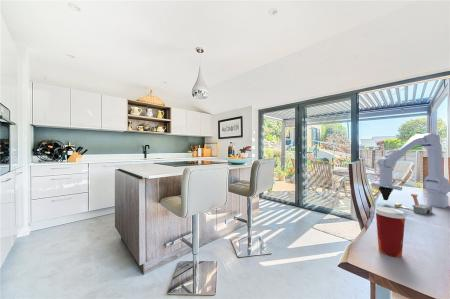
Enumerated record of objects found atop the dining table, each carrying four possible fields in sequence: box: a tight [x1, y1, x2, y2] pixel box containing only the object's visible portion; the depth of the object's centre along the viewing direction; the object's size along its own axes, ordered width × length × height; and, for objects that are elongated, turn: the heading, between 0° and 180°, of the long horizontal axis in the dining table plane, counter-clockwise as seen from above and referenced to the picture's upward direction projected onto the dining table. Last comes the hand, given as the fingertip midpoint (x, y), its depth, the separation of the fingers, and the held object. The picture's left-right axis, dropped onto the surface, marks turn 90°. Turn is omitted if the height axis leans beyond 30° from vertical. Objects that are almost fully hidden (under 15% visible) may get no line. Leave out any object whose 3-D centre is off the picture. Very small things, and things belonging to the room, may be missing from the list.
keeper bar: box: [410, 193, 420, 205], centre depth 101 cm, size 10×2×1 cm
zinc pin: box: [394, 202, 414, 212], centre depth 100 cm, size 5×7×3 cm, turn 22°
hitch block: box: [413, 204, 433, 216], centre depth 93 cm, size 8×4×4 cm, turn 112°
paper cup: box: [374, 206, 407, 258], centre depth 59 cm, size 8×8×14 cm
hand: (385, 199), depth 108 cm, fingers closed
